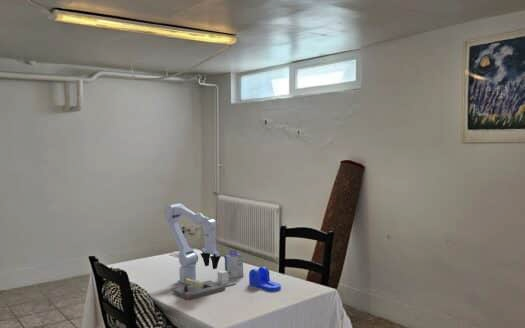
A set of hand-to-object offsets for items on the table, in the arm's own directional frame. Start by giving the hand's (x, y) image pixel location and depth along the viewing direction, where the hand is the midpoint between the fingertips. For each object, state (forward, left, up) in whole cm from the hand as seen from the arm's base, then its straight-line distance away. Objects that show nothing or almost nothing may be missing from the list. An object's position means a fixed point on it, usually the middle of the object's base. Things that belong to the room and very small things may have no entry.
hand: (210, 267), depth 252 cm
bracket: (+22, +20, -10) cm, 31 cm away
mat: (+3, +6, -10) cm, 12 cm away
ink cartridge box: (-5, +19, -10) cm, 22 cm away
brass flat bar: (+10, -18, -8) cm, 22 cm away
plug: (+3, +7, -9) cm, 12 cm away
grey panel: (+4, -10, -10) cm, 15 cm away
